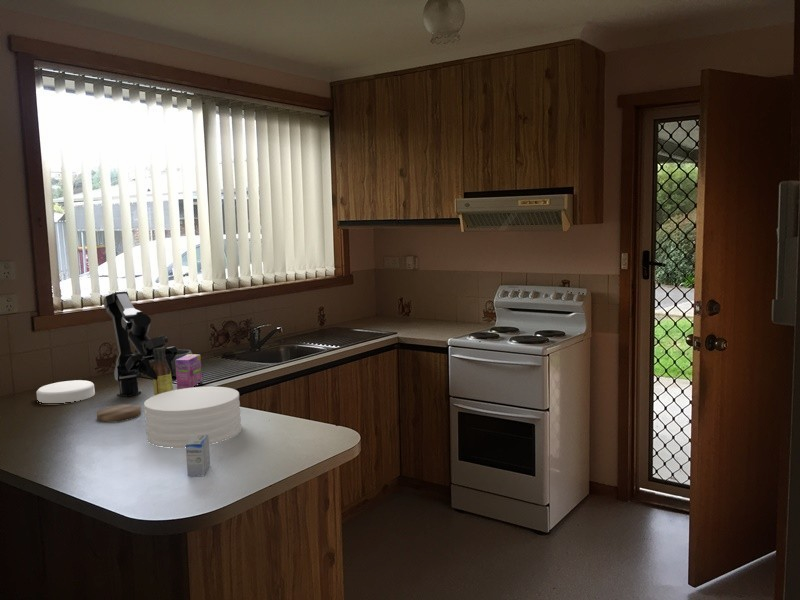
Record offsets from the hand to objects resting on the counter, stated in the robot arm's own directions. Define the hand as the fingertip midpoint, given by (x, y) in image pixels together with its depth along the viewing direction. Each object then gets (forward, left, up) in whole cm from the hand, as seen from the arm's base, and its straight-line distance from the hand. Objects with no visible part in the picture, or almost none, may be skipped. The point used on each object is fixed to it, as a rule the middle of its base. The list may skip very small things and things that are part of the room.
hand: (164, 376), depth 242 cm
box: (-17, +30, -12) cm, 37 cm away
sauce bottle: (-1, 0, -10) cm, 10 cm away
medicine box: (+52, -42, -12) cm, 68 cm away
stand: (-11, -11, -12) cm, 20 cm away
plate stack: (+28, -17, -12) cm, 35 cm away
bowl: (-36, +43, -12) cm, 58 cm away
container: (-52, +1, -12) cm, 54 cm away
